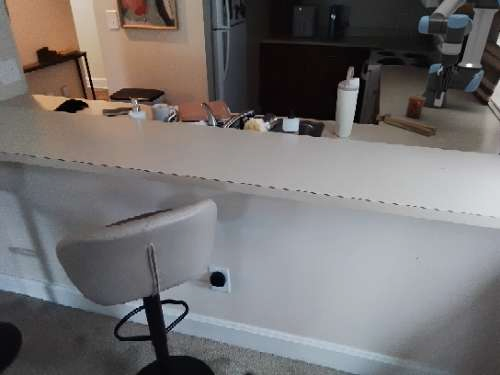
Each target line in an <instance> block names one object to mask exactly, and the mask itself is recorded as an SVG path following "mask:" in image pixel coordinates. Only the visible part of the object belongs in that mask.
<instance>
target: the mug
mask: <svg viewBox="0 0 500 375" xmlns="http://www.w3.org/2000/svg"><path fill="white" fill-rule="evenodd" d="M425 100H426V98H425V97H422V95H414V94H413V95H408V96H407V102H408V103H407V108H406V111H405V112H406V113H405V116H406V117H407V118H409V119H419V118H420V117H421V116H422V112H423V109H424V108H423V107H424V106H423V104H424V102H425Z"/></svg>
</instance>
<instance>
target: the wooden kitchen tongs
mask: <svg viewBox="0 0 500 375" xmlns="http://www.w3.org/2000/svg"><path fill="white" fill-rule="evenodd" d="M390 117H392V114H390V113H380V114H377V115H376V119H375V120H376V121H380V122H381V121H383V122H384V123H386V124H389V125H392V126H396V127H399V128H401V129H406V130H408V131H411V132H415V133H418V134H421V135H425V136H428V137H429V136H432V134H431V133H432V130H430V129H427V128H423V127H420V126H417V125H413V124H410V123H407V122H403V121H400V120H397V119H393V118H390Z"/></svg>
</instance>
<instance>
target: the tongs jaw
mask: <svg viewBox="0 0 500 375" xmlns="http://www.w3.org/2000/svg"><path fill="white" fill-rule="evenodd" d="M390 118H393V119H397V120H400V121H403V122H407V123H410V124H413V125H417V126H420V127H423V128H427V129H430V130H432V133H431V136H432V135H436V133H437V130H438V128H437V127H436V126H432V125H430V126H428V125H425V124H421V123H416V122H414V121H410V120H406V119H402V118H400V117H399V118H398V117H397V116H391V117H390Z"/></svg>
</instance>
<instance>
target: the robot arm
mask: <svg viewBox="0 0 500 375" xmlns="http://www.w3.org/2000/svg"><path fill="white" fill-rule="evenodd" d="M463 5H464V6H465V5H470V6H471V5H472V6H473V7H472V10H473V12H474V15H473V19H471V18H469V15H468V14H467V15H466V14H454V13H455V12H456V11H457V9H458V8H460V7H462V6H463ZM499 10H500V0H443V1H442V2H441V3H440V5H439V6H438V7H437V8H436V9H435V10H434V12H433V13H432V14H431V15H430V16H429V15H424V16H422V17H421V18H420V20H419V23H418V32H419V33H420V34H426V35H439V36H444V38H443V42H442V44H441V46H442V48H441V53H440V55H439V59H438V61H439V63H434V64H432V65H430V68H429V71H428V75H427V80H426V84H425V88H424V91H423V93H422V95H421V96H422V97H425V98H426V100H425V102H424V104H423V107H424V108H425V107H427V108H433V109H444V108H445V109H446V107H447V106H448V94H447V93H448V90H454V91H455V90H456V91H462V92H468V93H473V92H475V91H476V90H477V89H478V87H479V86H480V84H481V81H482V80H483V77H484V73H485V70H483V68H482V67H483V65H482V64H481V61H482V57H483V53H484V50H485V47H486V44H487V40H488V37H489V33H490V29H491V26H492V23H493V19H494V16H495V14H496V13H498V11H499ZM465 36H468V37H467V42H466V45H465V50H464V53H463V57H462V59H461V62H459V58H460V53H461V50H462V45H463V43H464V42H463V41H464V39H465ZM458 62H459V63H458ZM455 64H457V67H456V66H455Z"/></svg>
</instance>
